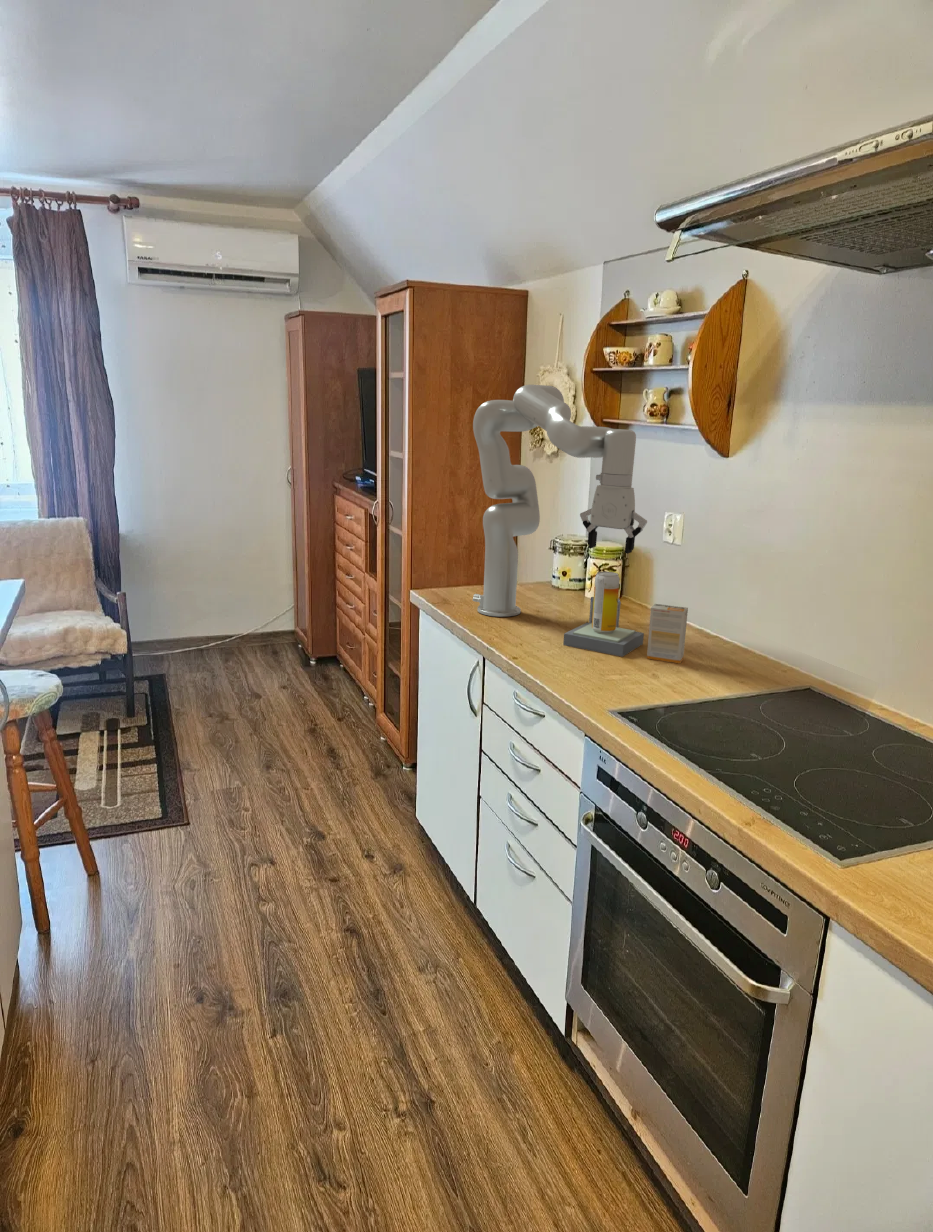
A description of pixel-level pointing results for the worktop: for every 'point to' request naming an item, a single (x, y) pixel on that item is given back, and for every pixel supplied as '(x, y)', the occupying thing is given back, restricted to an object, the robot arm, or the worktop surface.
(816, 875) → the worktop surface
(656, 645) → the supplement box
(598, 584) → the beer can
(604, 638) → the raised board
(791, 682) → the worktop surface
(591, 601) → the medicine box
